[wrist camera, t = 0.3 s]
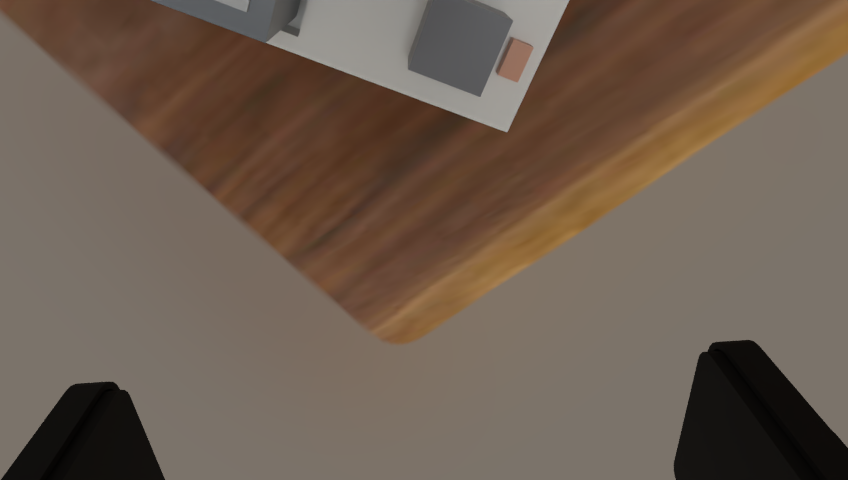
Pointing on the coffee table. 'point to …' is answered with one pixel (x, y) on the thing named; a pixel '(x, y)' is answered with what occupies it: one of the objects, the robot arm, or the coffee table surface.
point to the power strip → (388, 43)
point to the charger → (241, 14)
